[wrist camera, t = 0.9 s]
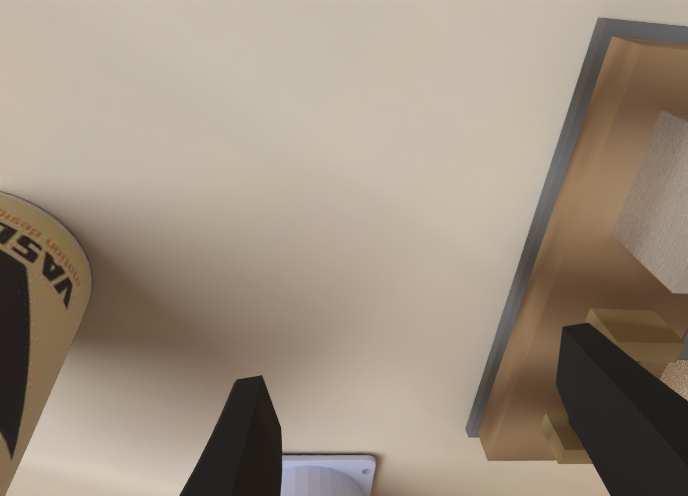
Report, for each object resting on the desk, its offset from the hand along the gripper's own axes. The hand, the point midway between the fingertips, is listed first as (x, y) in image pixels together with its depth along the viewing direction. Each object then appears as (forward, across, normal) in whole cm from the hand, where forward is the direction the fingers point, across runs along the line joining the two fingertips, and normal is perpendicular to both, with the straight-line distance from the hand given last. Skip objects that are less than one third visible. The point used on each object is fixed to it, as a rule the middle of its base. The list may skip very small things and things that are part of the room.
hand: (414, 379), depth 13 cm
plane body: (+10, -10, +7) cm, 16 cm away
